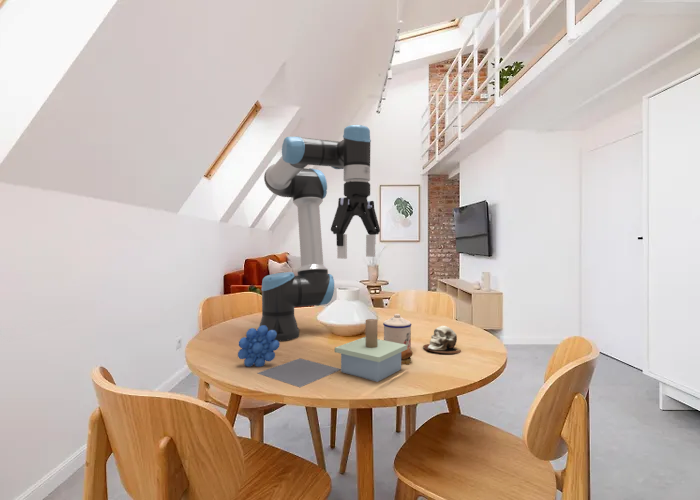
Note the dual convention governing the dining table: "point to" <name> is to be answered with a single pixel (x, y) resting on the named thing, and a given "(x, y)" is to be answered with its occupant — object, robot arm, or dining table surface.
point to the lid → (371, 345)
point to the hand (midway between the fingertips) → (357, 257)
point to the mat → (299, 372)
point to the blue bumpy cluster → (258, 346)
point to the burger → (406, 356)
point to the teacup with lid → (397, 330)
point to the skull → (443, 341)
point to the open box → (370, 367)
